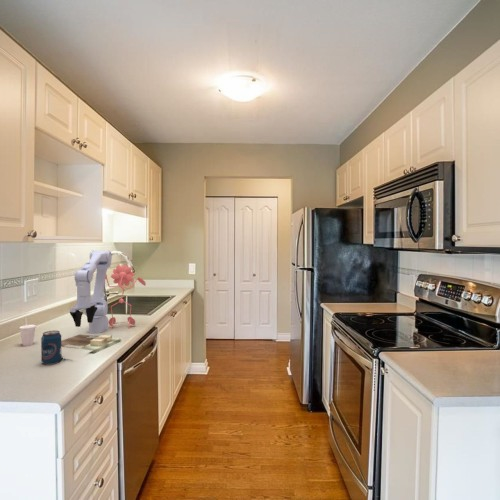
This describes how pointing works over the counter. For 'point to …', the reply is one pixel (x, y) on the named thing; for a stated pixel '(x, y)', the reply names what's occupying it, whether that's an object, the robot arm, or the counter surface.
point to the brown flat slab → (87, 343)
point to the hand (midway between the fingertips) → (84, 324)
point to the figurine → (123, 277)
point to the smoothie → (27, 334)
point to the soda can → (51, 347)
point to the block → (101, 340)
